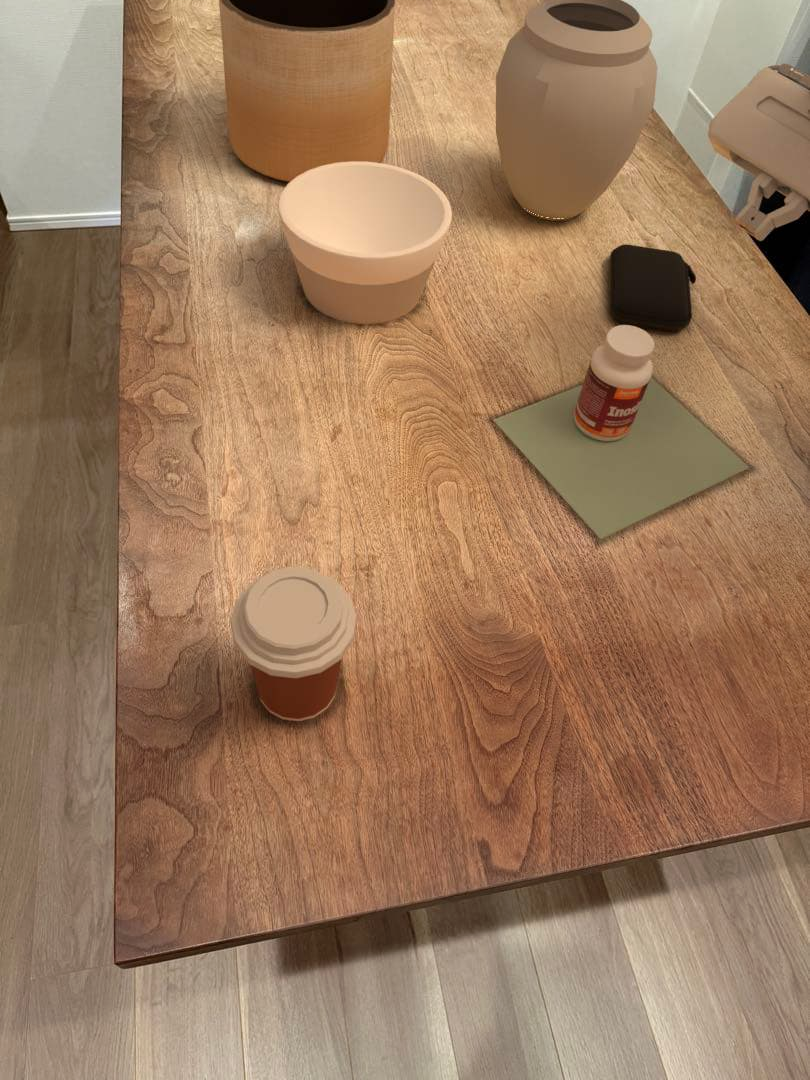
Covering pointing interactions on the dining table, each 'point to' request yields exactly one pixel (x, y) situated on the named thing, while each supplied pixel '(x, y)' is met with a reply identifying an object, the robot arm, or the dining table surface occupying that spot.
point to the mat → (621, 458)
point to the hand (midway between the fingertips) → (747, 230)
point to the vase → (572, 102)
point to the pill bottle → (615, 383)
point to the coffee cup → (294, 638)
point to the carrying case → (650, 288)
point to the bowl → (364, 237)
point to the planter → (307, 82)
